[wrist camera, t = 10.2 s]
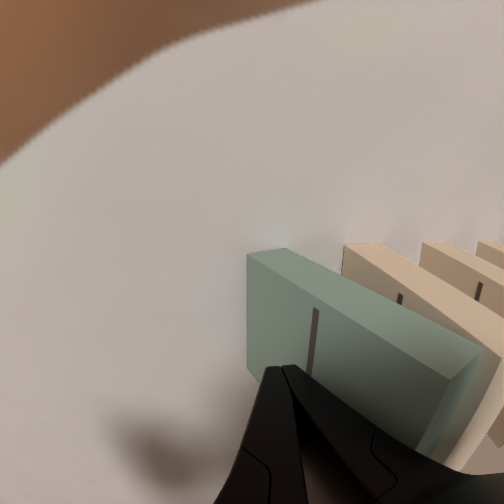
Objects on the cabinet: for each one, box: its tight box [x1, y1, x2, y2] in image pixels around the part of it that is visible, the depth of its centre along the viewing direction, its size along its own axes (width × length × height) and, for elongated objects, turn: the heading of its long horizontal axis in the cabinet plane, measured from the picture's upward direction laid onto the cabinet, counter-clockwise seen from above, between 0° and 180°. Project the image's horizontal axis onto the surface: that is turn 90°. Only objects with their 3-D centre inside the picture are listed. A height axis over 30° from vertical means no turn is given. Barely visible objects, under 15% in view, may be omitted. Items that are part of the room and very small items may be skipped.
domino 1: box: [247, 248, 483, 457], centre depth 9 cm, size 2×5×8 cm, turn 0°
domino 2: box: [342, 244, 504, 471], centre depth 9 cm, size 2×5×8 cm, turn 1°
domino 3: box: [419, 242, 504, 448], centre depth 10 cm, size 2×5×8 cm, turn 1°
